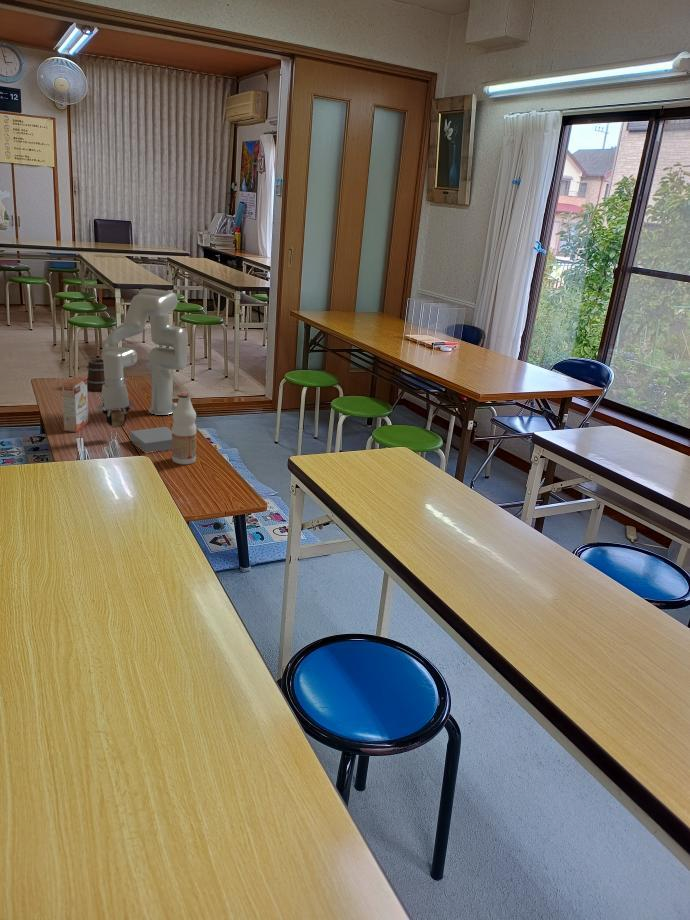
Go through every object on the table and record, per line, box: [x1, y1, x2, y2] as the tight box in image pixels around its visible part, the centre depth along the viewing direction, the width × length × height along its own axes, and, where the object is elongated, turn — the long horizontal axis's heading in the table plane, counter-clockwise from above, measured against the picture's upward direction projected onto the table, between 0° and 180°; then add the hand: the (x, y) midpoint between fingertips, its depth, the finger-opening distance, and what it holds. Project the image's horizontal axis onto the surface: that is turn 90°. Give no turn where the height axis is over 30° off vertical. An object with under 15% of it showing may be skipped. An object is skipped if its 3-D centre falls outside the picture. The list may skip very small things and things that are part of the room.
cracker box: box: [61, 376, 89, 433], centre depth 293 cm, size 14×6×21 cm, turn 179°
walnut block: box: [109, 408, 126, 429], centre depth 283 cm, size 5×5×6 cm
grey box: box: [129, 426, 172, 452], centre depth 285 cm, size 16×16×5 cm
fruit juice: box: [171, 391, 197, 465], centre depth 267 cm, size 9×9×28 cm
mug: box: [86, 358, 105, 393], centre depth 351 cm, size 16×12×15 cm
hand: (116, 422), depth 284 cm, fingers closed on walnut block, 5 cm apart
